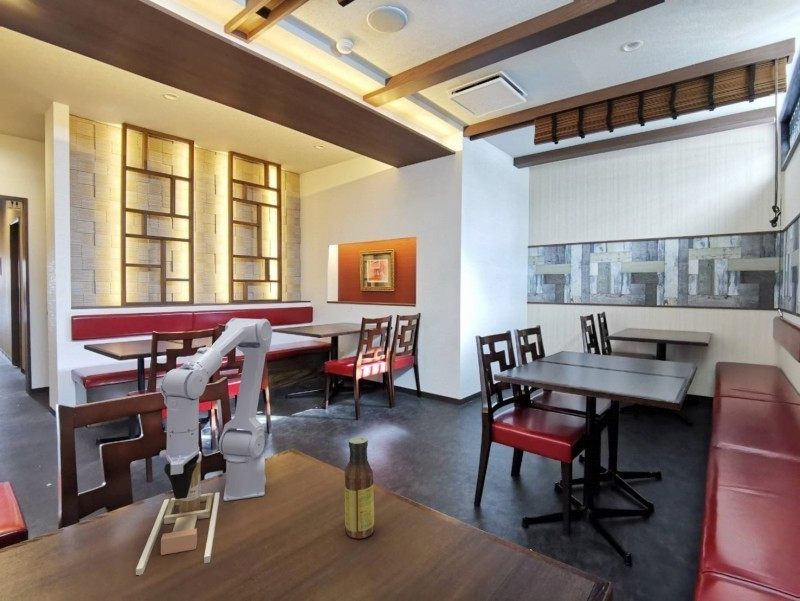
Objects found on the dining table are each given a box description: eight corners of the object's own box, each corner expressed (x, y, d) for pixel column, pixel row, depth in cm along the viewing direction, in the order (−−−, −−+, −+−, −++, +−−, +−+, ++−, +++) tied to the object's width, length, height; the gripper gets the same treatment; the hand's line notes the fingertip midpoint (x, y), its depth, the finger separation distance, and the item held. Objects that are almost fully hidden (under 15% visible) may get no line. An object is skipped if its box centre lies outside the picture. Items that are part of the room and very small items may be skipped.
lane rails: (219, 496, 102) (219, 492, 102) (209, 562, 77) (210, 555, 77) (164, 504, 98) (164, 499, 98) (135, 575, 73) (136, 569, 73)
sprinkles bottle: (176, 517, 92) (177, 458, 92) (180, 507, 97) (181, 450, 96) (199, 514, 94) (199, 456, 93) (202, 504, 98) (202, 448, 98)
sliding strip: (212, 498, 101) (213, 486, 101) (203, 547, 82) (204, 532, 81) (171, 504, 98) (171, 491, 98) (151, 556, 78) (152, 541, 78)
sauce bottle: (376, 524, 91) (378, 435, 91) (371, 541, 85) (373, 445, 84) (347, 522, 92) (348, 433, 91) (340, 539, 85) (342, 444, 85)
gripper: (167, 419, 89) (166, 482, 89) (152, 442, 75) (151, 516, 75) (203, 416, 91) (202, 477, 91) (195, 439, 78) (194, 510, 78)
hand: (182, 495), depth 84 cm, fingers closed
